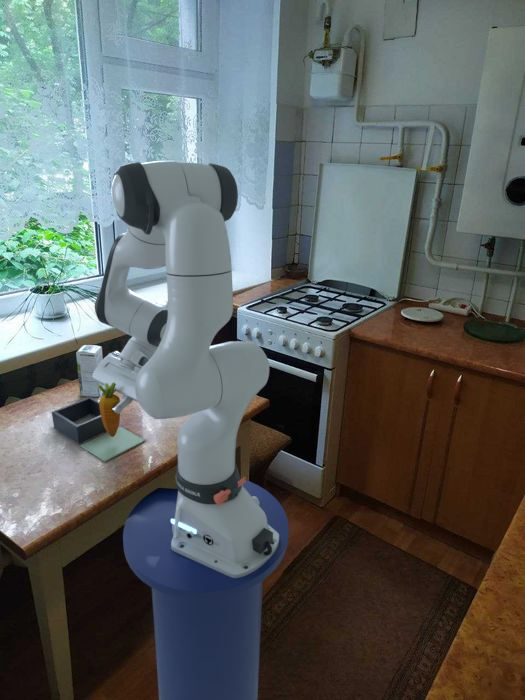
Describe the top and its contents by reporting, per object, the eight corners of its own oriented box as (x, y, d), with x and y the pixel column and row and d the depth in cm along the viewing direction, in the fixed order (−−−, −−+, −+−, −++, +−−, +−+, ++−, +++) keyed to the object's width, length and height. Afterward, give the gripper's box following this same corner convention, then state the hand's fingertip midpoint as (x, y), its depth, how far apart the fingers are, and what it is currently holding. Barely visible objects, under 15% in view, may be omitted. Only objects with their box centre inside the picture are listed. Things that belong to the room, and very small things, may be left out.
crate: (117, 426, 133) (116, 410, 131) (78, 444, 124) (76, 427, 123) (92, 412, 139) (90, 396, 138) (53, 428, 131) (51, 411, 129)
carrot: (98, 439, 123) (92, 385, 117) (109, 429, 127) (104, 377, 122) (115, 443, 122) (110, 389, 116) (126, 433, 126) (122, 380, 120)
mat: (145, 441, 127) (144, 440, 127) (104, 462, 118) (104, 460, 118) (120, 427, 132) (120, 426, 132) (80, 446, 124) (80, 445, 123)
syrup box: (87, 387, 153) (82, 344, 148) (105, 388, 153) (101, 345, 148) (80, 396, 148) (74, 351, 143) (99, 397, 148) (95, 352, 142)
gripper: (104, 343, 128) (74, 390, 124) (156, 365, 116) (125, 417, 113) (120, 354, 133) (91, 399, 129) (171, 376, 121) (142, 426, 118)
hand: (107, 408), depth 121 cm, fingers closed on carrot, 4 cm apart
